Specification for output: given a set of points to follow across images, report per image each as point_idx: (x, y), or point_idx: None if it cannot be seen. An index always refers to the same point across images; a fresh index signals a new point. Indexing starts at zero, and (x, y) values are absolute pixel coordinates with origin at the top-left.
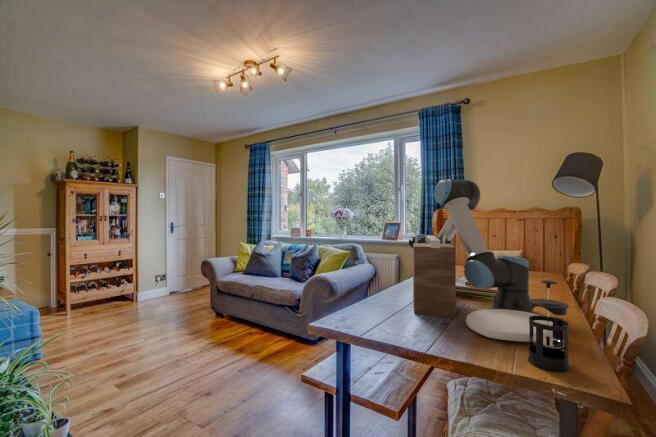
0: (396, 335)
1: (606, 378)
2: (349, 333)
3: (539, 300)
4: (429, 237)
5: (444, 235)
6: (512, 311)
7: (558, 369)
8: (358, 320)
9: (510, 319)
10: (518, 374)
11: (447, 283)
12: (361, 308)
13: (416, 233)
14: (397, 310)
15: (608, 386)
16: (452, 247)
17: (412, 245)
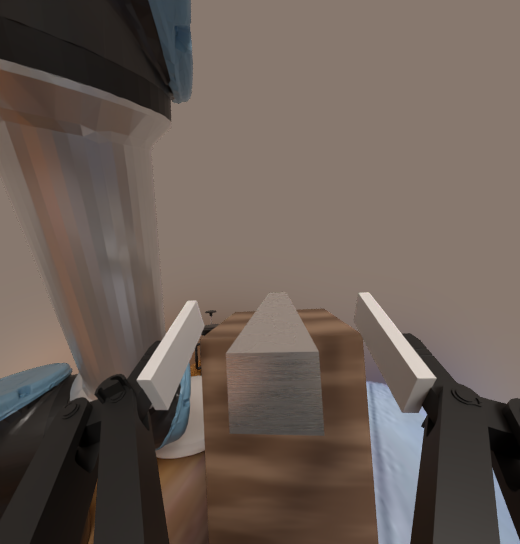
0: None
1: (192, 366)
2: (386, 385)
3: (215, 326)
4: (285, 301)
5: (198, 311)
6: None
7: None
8: (415, 419)
9: (200, 385)
10: None
11: None
12: (497, 497)
13: (361, 294)
14: (388, 496)
15: (200, 361)
16: (241, 312)
17: (500, 484)
